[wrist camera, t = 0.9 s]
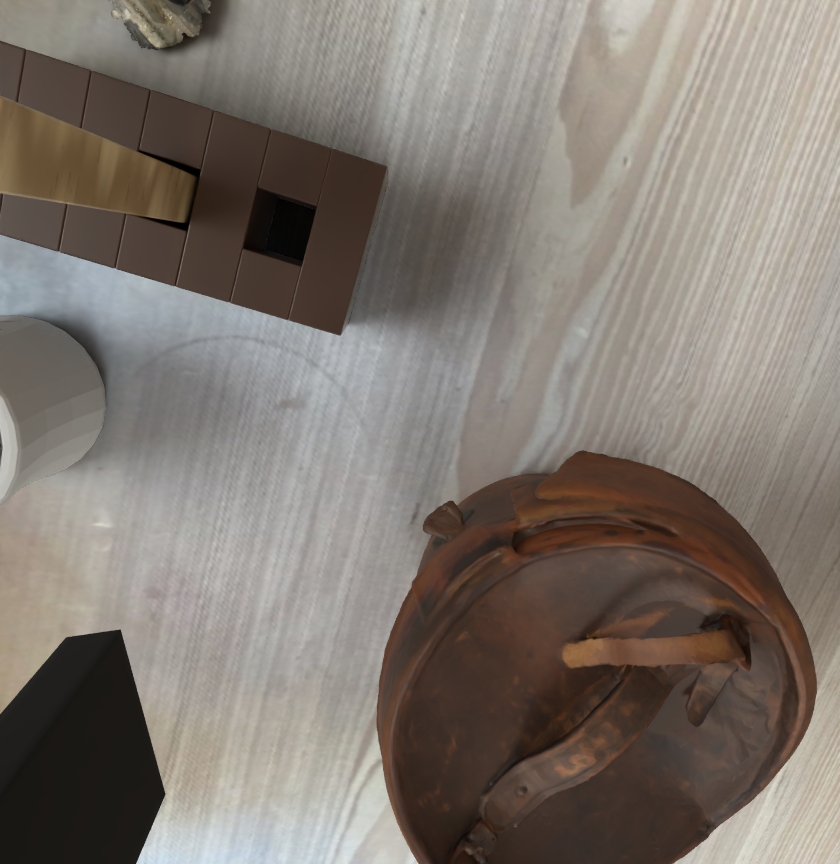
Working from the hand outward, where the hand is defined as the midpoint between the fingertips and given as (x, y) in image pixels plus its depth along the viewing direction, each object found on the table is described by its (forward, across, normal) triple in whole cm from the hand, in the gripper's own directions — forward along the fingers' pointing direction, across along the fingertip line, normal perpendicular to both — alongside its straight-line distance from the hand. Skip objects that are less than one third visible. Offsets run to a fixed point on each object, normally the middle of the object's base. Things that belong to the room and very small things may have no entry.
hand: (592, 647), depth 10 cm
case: (+31, +4, -14) cm, 34 cm away
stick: (+31, -12, +10) cm, 35 cm away
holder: (+31, -12, +10) cm, 35 cm away
